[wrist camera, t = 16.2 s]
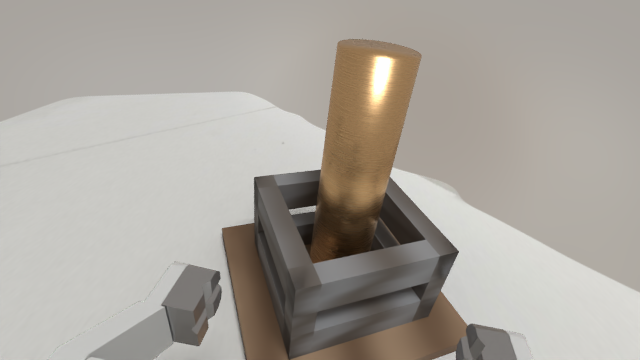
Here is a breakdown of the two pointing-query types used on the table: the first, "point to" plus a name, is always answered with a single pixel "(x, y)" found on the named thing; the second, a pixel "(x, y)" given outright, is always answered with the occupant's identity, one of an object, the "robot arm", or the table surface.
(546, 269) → the table surface
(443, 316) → the collar stand
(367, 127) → the copper tube
